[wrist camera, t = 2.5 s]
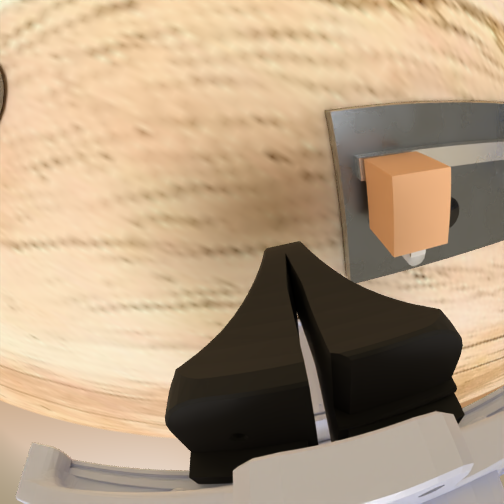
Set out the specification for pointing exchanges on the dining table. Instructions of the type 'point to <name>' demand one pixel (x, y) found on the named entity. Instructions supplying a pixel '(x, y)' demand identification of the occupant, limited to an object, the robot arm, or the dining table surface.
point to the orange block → (408, 203)
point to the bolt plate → (432, 145)
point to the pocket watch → (1, 91)
